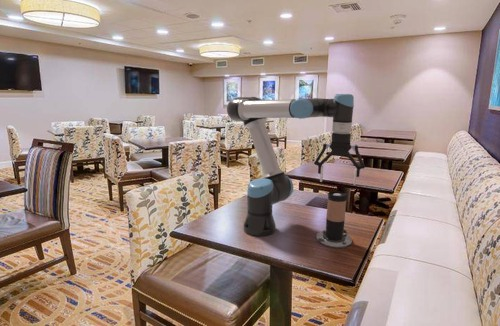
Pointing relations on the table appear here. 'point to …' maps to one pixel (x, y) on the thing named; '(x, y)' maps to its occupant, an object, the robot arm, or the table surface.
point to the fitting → (325, 241)
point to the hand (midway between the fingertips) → (337, 182)
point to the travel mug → (335, 215)
